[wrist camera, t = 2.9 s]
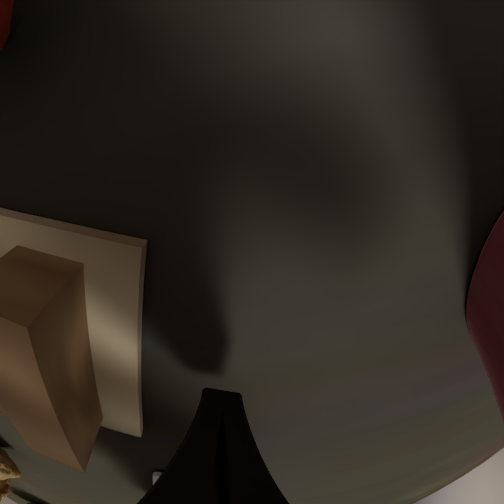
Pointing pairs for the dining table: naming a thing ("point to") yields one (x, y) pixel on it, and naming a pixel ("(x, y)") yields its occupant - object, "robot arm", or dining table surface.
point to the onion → (5, 20)
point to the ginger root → (6, 472)
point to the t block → (47, 356)
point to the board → (98, 304)
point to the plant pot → (489, 309)
